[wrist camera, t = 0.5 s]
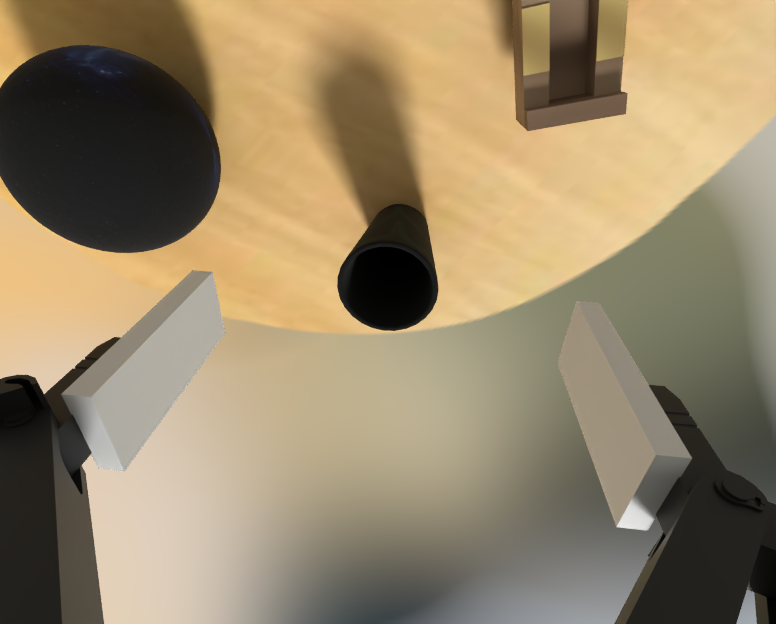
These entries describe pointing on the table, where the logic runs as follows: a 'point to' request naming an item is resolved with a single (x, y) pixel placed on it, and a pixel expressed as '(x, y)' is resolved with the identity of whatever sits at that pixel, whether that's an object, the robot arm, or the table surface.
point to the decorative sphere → (106, 149)
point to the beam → (568, 60)
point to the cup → (391, 271)
